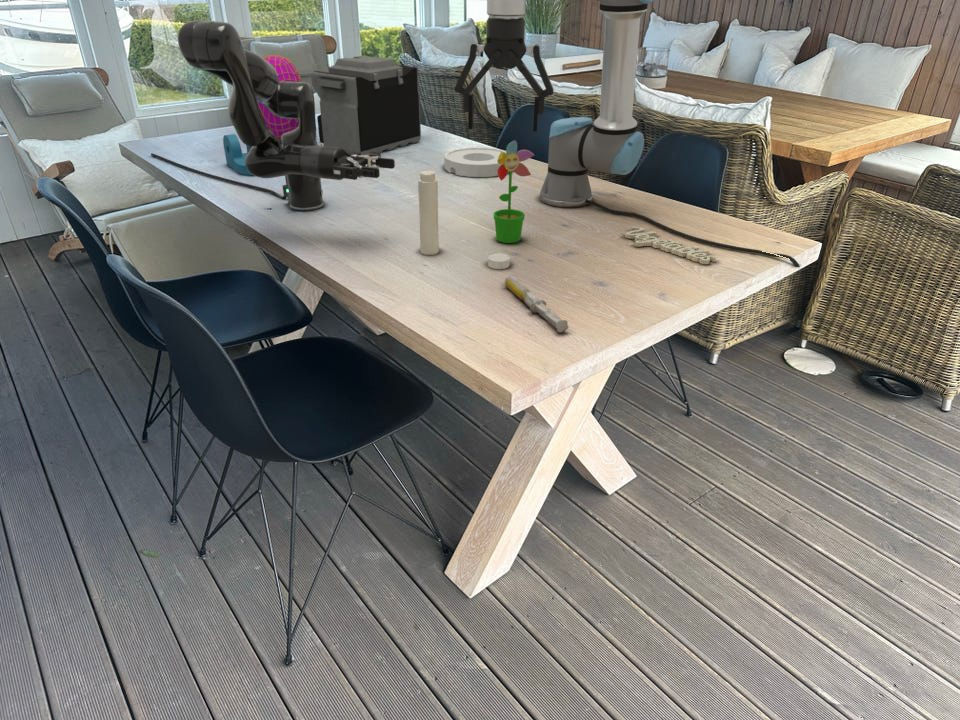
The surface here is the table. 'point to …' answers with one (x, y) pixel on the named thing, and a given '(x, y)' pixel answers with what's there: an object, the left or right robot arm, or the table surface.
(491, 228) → the table surface
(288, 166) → the left robot arm
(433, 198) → the beige long cylinder
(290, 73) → the decorative egg
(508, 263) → the lid
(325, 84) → the portable cooler box
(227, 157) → the camera mount
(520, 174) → the potted flower
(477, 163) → the white round base
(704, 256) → the decorative sign
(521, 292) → the syringe
